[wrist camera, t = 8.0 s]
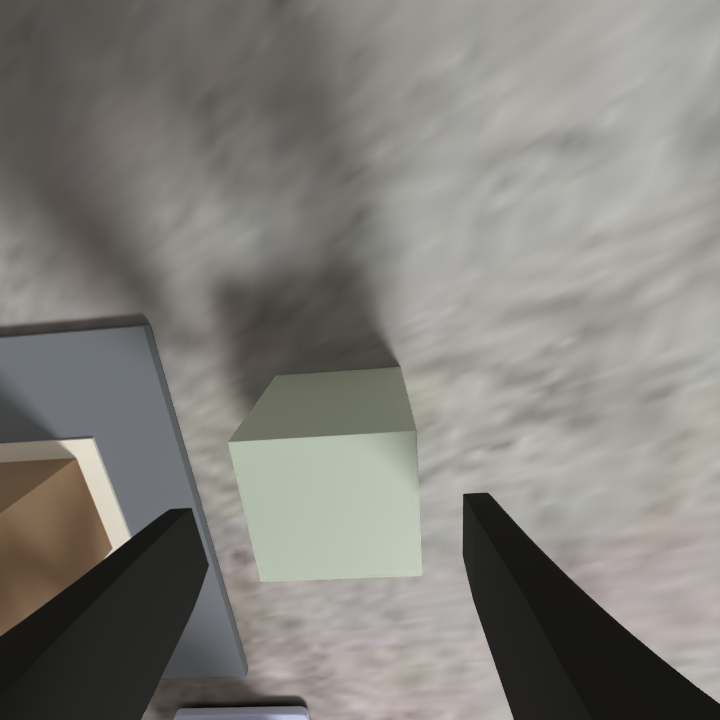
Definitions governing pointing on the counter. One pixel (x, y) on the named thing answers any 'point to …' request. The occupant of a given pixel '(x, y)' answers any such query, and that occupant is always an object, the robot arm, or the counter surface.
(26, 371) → the mat
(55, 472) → the walnut block
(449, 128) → the counter surface
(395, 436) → the sage block
